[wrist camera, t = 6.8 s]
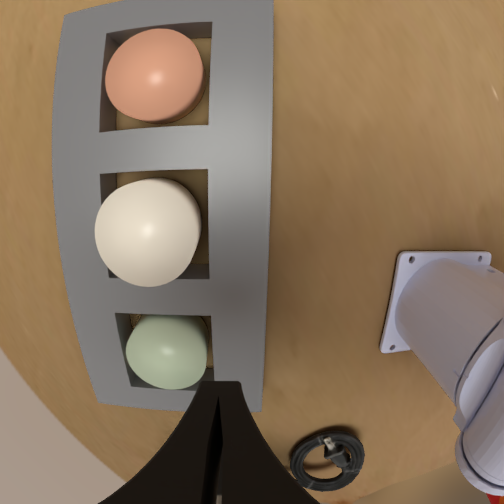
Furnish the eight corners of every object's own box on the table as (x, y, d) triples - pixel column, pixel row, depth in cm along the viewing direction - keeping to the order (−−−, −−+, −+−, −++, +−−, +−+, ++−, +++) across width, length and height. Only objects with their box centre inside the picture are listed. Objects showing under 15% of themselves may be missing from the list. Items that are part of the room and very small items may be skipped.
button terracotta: (207, 42, 15) (203, 25, 12) (205, 122, 17) (199, 116, 14) (125, 50, 15) (109, 35, 12) (121, 127, 16) (103, 123, 14)
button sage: (207, 303, 20) (203, 325, 17) (210, 365, 21) (208, 391, 19) (132, 301, 20) (119, 322, 17) (142, 362, 21) (133, 386, 18)
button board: (268, 10, 15) (273, -8, 12) (258, 389, 22) (261, 411, 20) (81, 27, 14) (64, 15, 12) (107, 382, 22) (98, 402, 19)
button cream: (201, 175, 16) (195, 180, 13) (203, 267, 18) (198, 287, 15) (112, 179, 16) (90, 185, 13) (118, 266, 17) (101, 285, 15)
